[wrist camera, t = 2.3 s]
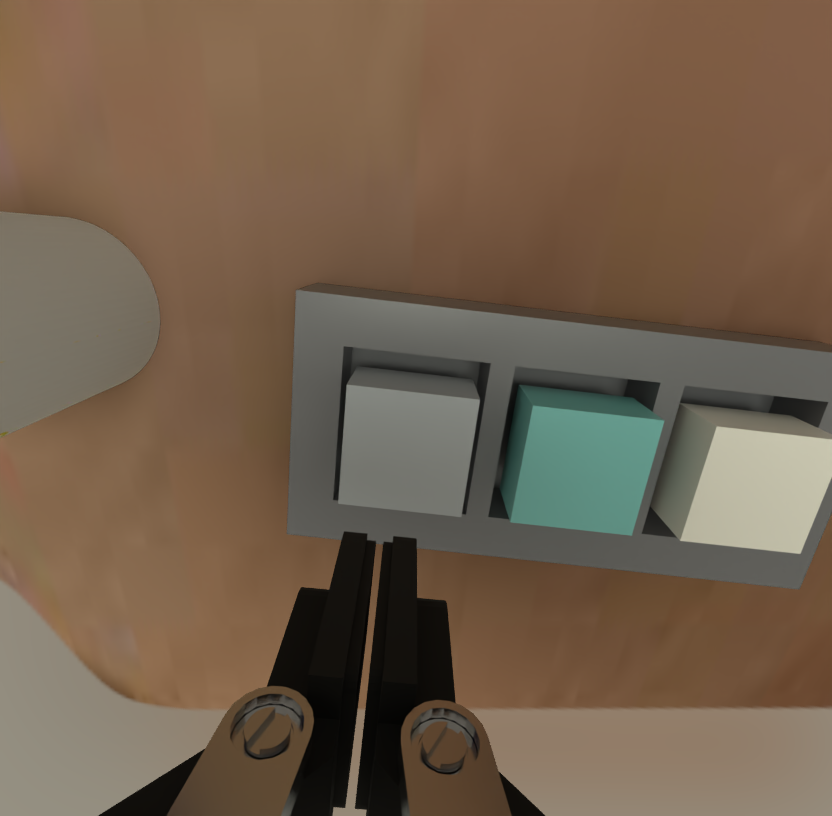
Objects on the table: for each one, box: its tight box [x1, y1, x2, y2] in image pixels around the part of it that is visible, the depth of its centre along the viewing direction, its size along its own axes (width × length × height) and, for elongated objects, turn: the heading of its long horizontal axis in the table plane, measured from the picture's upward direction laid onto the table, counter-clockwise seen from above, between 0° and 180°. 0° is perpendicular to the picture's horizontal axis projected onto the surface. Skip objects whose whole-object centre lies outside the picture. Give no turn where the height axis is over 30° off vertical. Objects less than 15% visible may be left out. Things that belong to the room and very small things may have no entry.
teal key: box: [500, 385, 664, 536], centre depth 21 cm, size 5×5×3 cm
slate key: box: [338, 366, 480, 517], centre depth 21 cm, size 5×5×3 cm
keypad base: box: [287, 283, 832, 589], centre depth 23 cm, size 24×11×4 cm, turn 84°
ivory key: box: [650, 403, 832, 554], centre depth 21 cm, size 5×5×3 cm
